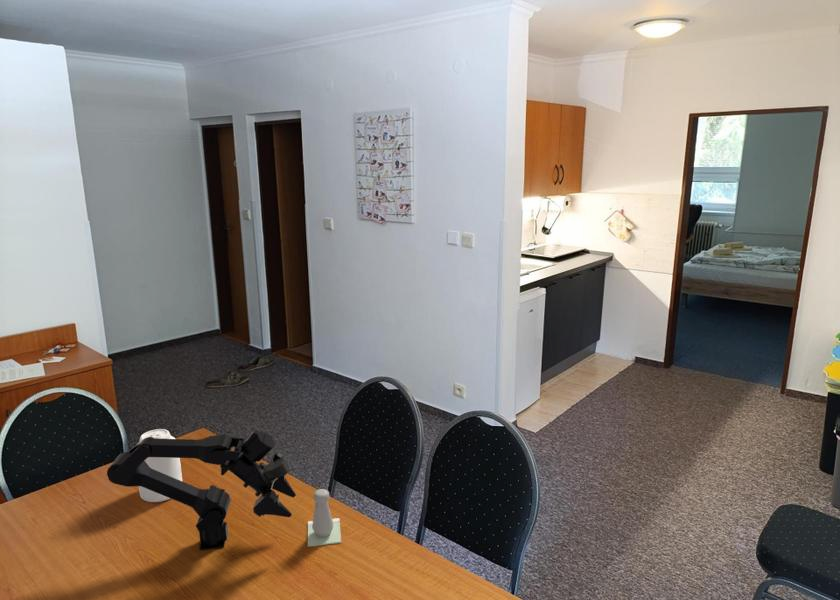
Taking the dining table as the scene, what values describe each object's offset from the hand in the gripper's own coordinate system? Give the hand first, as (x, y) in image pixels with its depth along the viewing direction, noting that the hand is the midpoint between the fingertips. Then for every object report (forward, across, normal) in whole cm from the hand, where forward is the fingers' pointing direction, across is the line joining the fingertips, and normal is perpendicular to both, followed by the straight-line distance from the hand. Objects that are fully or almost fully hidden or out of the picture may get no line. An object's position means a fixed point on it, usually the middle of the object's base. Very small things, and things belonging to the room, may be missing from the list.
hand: (292, 505), depth 157 cm
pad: (+12, 0, +1) cm, 13 cm away
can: (-24, +26, +38) cm, 52 cm away
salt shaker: (+12, 0, +1) cm, 12 cm away
